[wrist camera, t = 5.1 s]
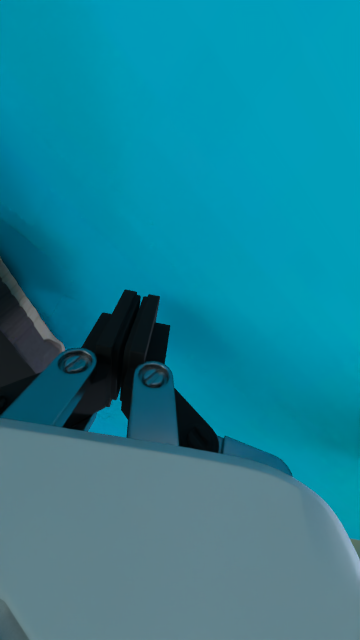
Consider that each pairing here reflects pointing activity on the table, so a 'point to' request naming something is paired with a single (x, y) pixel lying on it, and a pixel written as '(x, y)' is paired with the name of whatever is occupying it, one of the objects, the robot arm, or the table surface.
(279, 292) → the table surface
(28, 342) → the black sponge
